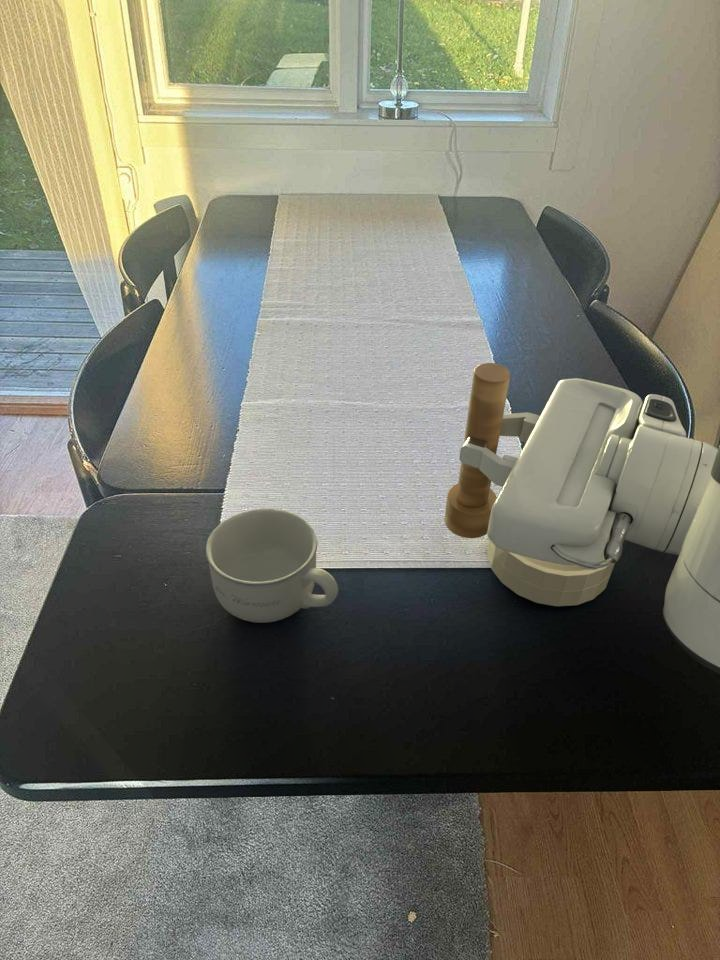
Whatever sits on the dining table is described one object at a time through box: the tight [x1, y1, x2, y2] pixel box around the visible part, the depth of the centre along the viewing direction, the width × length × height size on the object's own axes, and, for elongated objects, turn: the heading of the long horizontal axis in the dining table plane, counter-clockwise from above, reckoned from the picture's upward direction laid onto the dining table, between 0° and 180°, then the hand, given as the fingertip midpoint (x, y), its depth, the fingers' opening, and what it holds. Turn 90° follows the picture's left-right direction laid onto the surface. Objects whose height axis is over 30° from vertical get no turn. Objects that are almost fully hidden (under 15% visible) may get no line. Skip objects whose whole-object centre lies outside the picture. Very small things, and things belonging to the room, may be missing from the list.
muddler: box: [443, 362, 511, 539], centre depth 59 cm, size 4×4×16 cm
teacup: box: [205, 508, 339, 624], centre depth 70 cm, size 14×11×8 cm
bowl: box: [486, 535, 617, 607], centre depth 75 cm, size 13×13×6 cm
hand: (471, 434), depth 58 cm, fingers closed on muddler, 3 cm apart
